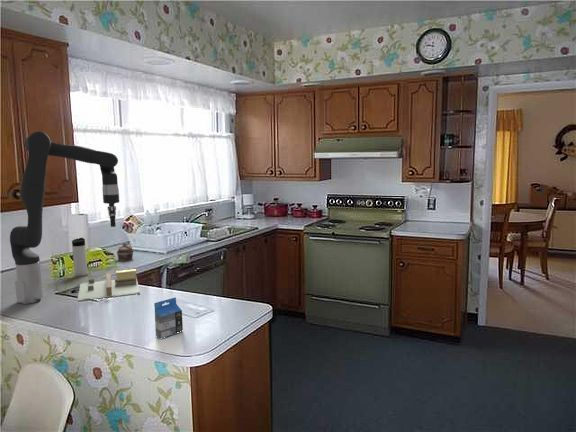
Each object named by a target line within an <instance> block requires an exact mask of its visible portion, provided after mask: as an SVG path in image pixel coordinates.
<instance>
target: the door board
mask: <svg viewBox="0 0 576 432" xmlns="http://www.w3.org/2000/svg"><path fill="white" fill-rule="evenodd" d="M111 273H112V272H106V273H105V275H106V280H102V281H101V280H100V281H95V278H88V282H82V283H80V285H79V290H78V295H77V303H79V302H89V301H95V300H94V299H98V300H104V299H103V298H106V299H112V298H121V297H128V296H136V294H138V295H141V291H140V286H139V282H138V278H137V277H136V280H137V283H136V281H127V282H118V283H117V277H116V278H114V279H112V274H111Z"/></svg>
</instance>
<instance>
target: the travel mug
mask: <svg viewBox="0 0 576 432" xmlns="http://www.w3.org/2000/svg"><path fill="white" fill-rule="evenodd" d="M71 245H72V246H71V247H72V248H71V249H72V261H73V272H74V278H83V277H88V275H89V274H88V273H89V271H88V261H87V260H88V259H87V249H86V239H85V238H84V237H79V238H74V239H73V240H71Z"/></svg>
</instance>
